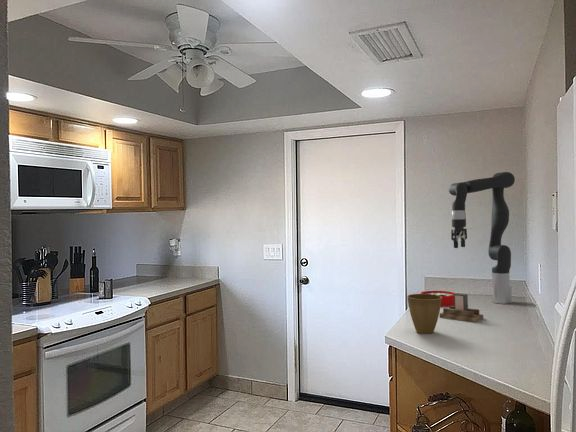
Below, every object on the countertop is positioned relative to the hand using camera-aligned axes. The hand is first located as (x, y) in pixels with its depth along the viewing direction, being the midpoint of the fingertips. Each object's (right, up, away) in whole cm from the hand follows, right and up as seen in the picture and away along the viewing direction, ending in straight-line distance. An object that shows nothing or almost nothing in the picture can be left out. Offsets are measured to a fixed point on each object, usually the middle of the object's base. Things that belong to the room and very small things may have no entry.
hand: (459, 247), depth 264 cm
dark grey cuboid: (-9, -32, -28) cm, 43 cm away
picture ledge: (-9, -34, -28) cm, 45 cm away
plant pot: (-34, -35, -53) cm, 72 cm away
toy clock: (-8, -34, +12) cm, 37 cm away
